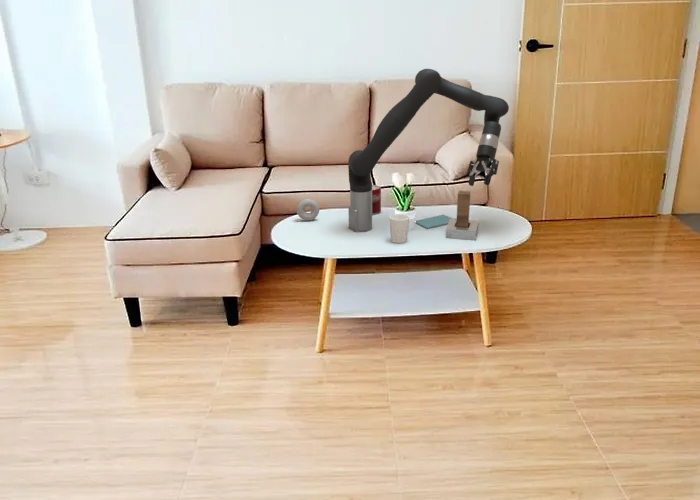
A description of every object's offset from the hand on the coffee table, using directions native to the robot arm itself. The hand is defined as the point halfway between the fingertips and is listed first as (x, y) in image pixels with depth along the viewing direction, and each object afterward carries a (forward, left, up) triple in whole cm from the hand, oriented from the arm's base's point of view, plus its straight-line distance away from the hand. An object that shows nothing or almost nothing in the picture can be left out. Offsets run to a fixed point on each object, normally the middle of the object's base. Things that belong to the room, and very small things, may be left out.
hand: (478, 185), depth 251 cm
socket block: (-5, +3, -21) cm, 22 cm away
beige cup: (-31, +11, -21) cm, 39 cm away
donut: (-52, +52, -21) cm, 76 cm away
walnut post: (-5, +3, -21) cm, 22 cm away
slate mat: (-6, +20, -21) cm, 29 cm away
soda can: (-22, +46, -21) cm, 55 cm away
